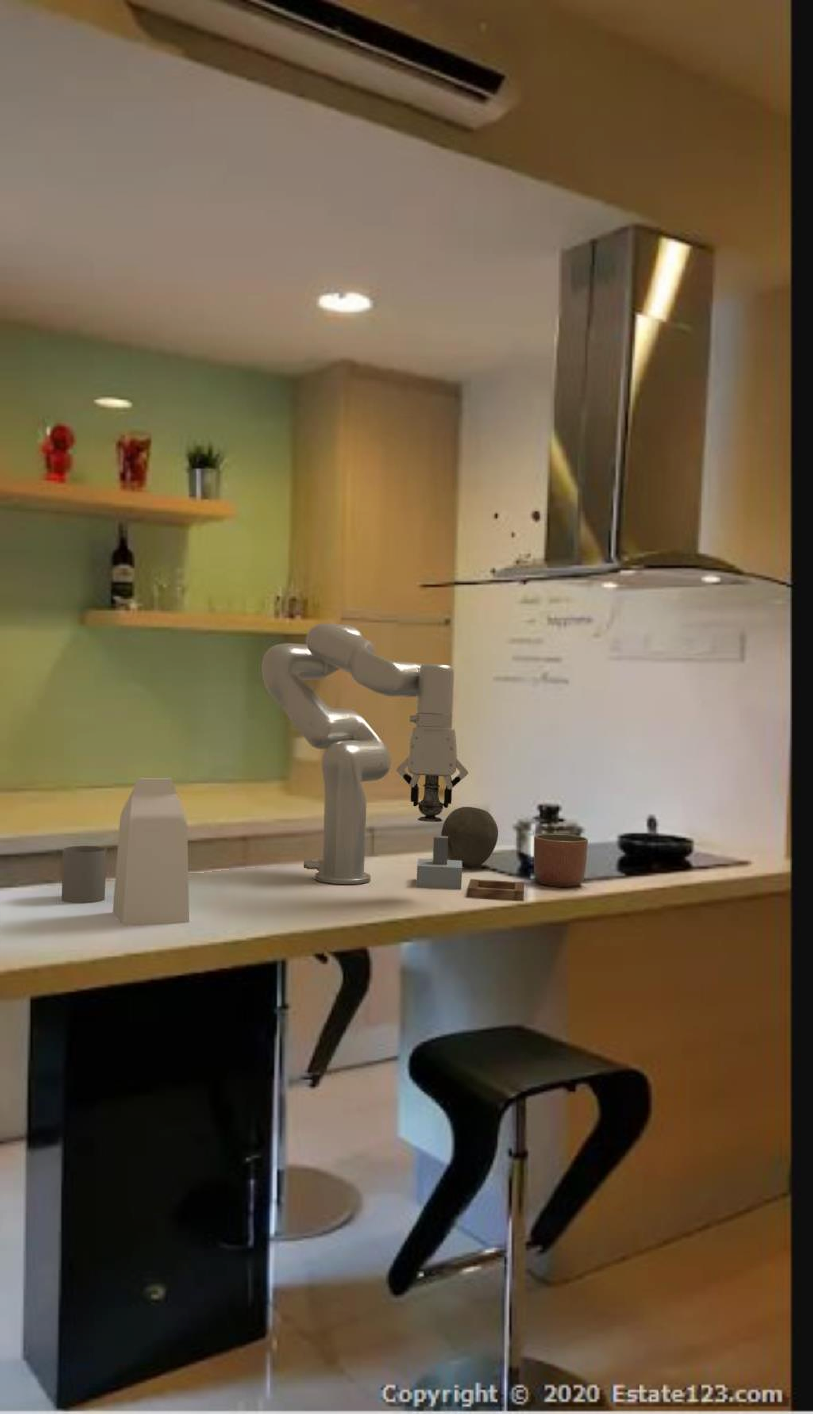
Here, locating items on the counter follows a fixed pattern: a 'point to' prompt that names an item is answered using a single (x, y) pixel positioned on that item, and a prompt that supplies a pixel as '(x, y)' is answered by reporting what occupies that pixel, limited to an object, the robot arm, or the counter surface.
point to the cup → (83, 874)
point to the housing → (439, 868)
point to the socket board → (495, 889)
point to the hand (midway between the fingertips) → (430, 805)
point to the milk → (152, 857)
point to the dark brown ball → (470, 836)
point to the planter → (560, 859)
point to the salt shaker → (430, 800)
